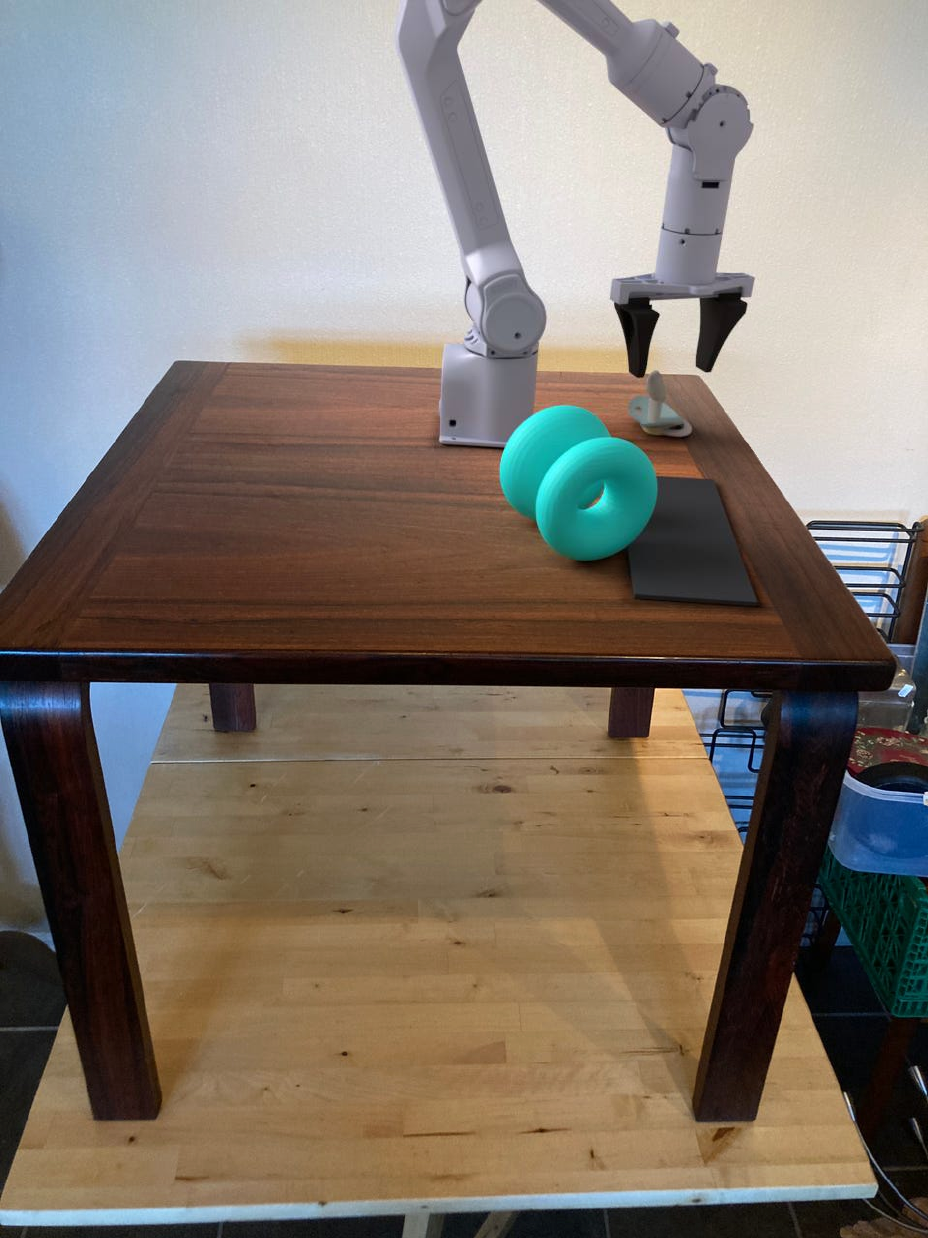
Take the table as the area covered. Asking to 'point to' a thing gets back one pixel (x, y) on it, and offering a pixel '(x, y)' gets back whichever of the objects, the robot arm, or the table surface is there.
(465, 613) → the table surface
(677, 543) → the placemat
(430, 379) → the table surface
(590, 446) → the donuts
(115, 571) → the table surface
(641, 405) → the pacifier
